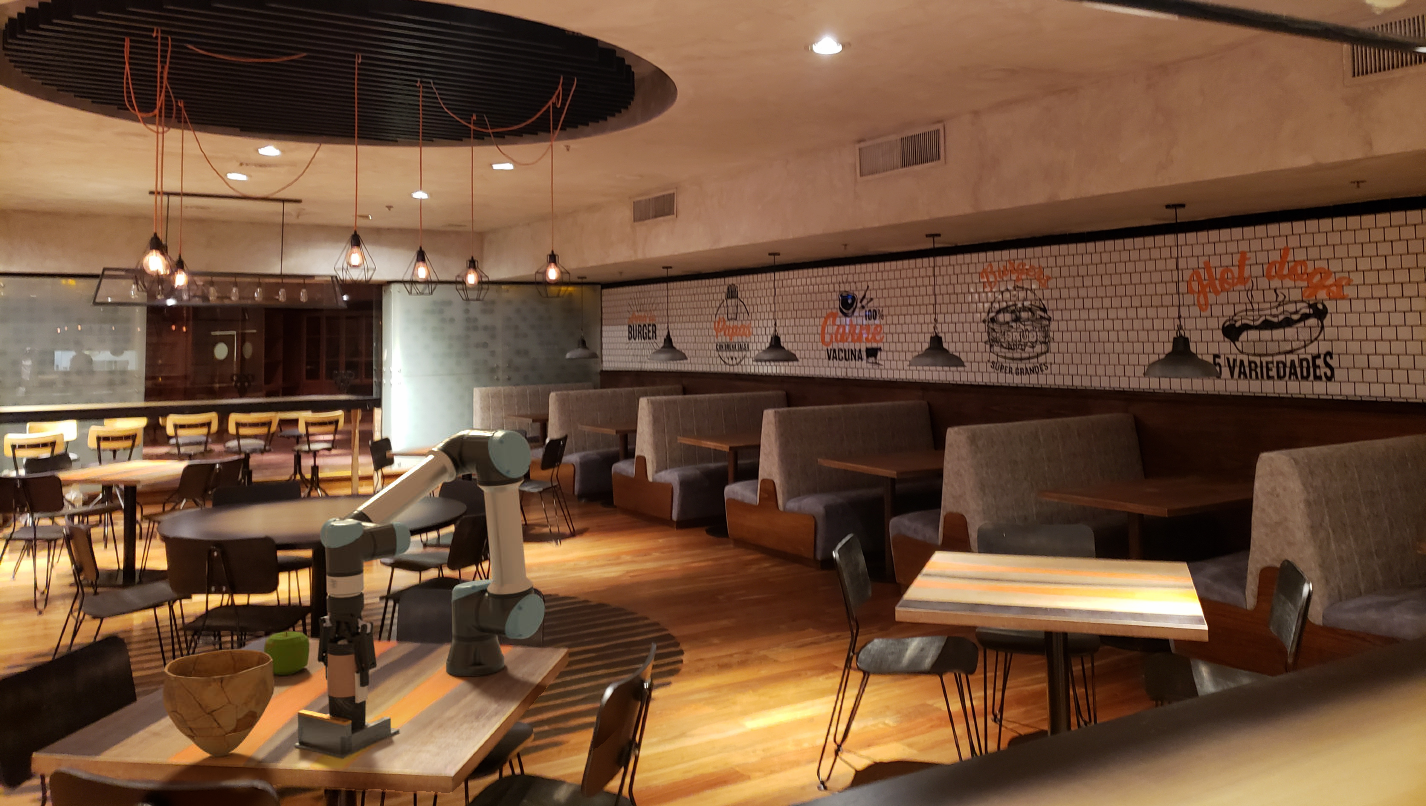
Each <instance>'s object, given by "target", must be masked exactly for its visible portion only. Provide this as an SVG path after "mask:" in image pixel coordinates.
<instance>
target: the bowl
mask: <svg viewBox="0 0 1426 806" xmlns="http://www.w3.org/2000/svg"><path fill="white" fill-rule="evenodd" d="M272 661H273V659H272V658H271V657H270V655H268V654H266V653H264V651H261V650H253V649H251V650H250V649H238V648H237V649H220V650H216V651H208V652H202V653H199V654H191V655H186V656H183V657H182V656H181V657H178V658H175V659H173V660H171V661H170V662H168V663H167V664H165V667H164V668H163V674H164V679H163V682H164V683H163V688H162V689H163V690H162V701H163V703H162V704H163V707H164V710H165V711H166V713H167V715H168V717H169V719H170V720H171V722H172V723H173V724H174V726H175V727H176V729H177V730H178V731H179V732H180V733H181V734H182V735H183V736H185V737H186V738H187V739H189V740H190V741H191V742H192V743H193V744H194V745H195V746H196V747H198V748H199V749H200V750H202V752H204V753H206V754H208V755H210V756H212V757H221V758H222V757H224V756H227V755H228V754H230V753H231V752H233V751H235V750H236V749H237V748H238V747H239V746H240V745H242V743H243V742H244V741H245V740H246V739H247V737H248V736H249V735H250V733H251V732H252V731H253V730H254V728H255V726H256V725H257V723H258V722H260V719H261V718H262V716H263V714H264V713H265V712H266V709H267V707H268V705H269V704H270V702H271V699H272V697H273V695H274V693H275V691H274V690H275V681H274V680H275V679H274V673H273V663H272Z"/></svg>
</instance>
